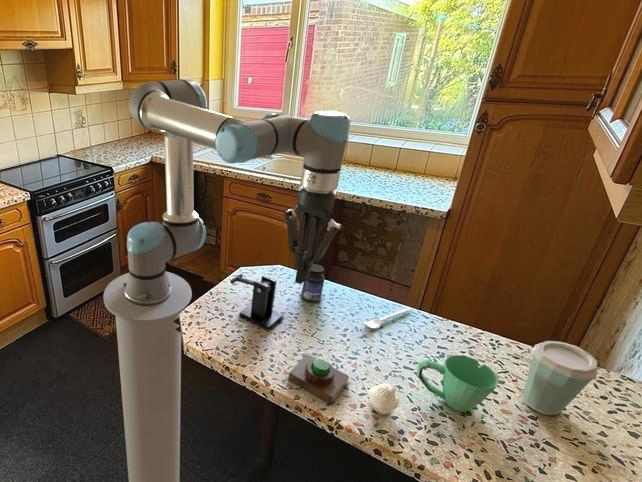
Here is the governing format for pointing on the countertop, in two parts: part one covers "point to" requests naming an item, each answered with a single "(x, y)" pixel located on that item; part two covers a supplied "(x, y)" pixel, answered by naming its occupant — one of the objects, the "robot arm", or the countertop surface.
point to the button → (320, 367)
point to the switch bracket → (262, 305)
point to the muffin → (383, 398)
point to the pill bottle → (313, 284)
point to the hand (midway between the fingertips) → (300, 280)
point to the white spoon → (383, 319)
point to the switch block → (318, 379)
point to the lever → (248, 281)
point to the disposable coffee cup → (557, 376)
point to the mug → (461, 381)
